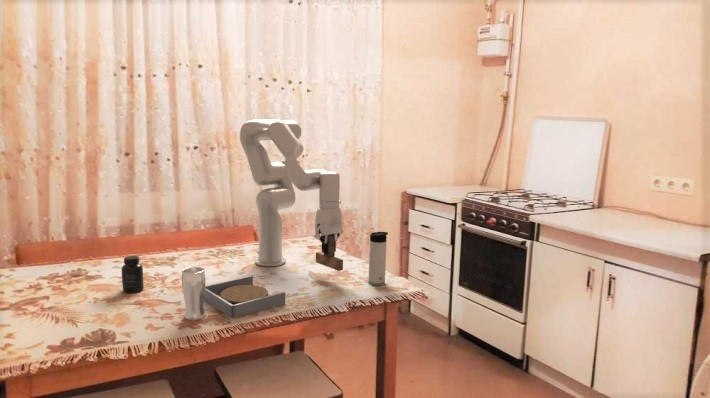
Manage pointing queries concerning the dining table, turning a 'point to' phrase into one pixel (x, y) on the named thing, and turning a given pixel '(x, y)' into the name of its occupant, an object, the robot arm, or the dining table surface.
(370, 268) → the travel mug
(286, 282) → the dining table surface
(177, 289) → the dining table surface
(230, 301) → the wood log slice
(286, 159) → the robot arm
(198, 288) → the beer glass
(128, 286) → the supplement bottle
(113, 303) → the dining table surface
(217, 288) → the box
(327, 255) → the wooden t-shaped block
